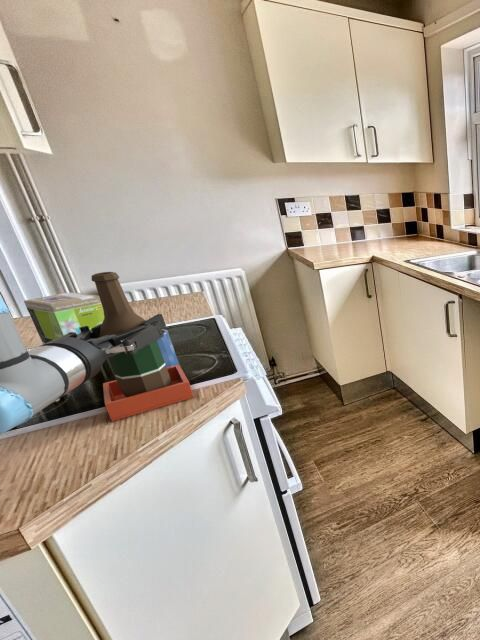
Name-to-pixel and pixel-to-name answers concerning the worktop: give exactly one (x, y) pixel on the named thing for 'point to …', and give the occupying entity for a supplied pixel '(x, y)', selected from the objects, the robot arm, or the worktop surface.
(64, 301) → the tea box
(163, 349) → the blue cup
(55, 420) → the worktop surface
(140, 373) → the beer bottle
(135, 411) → the red tray
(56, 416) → the worktop surface
